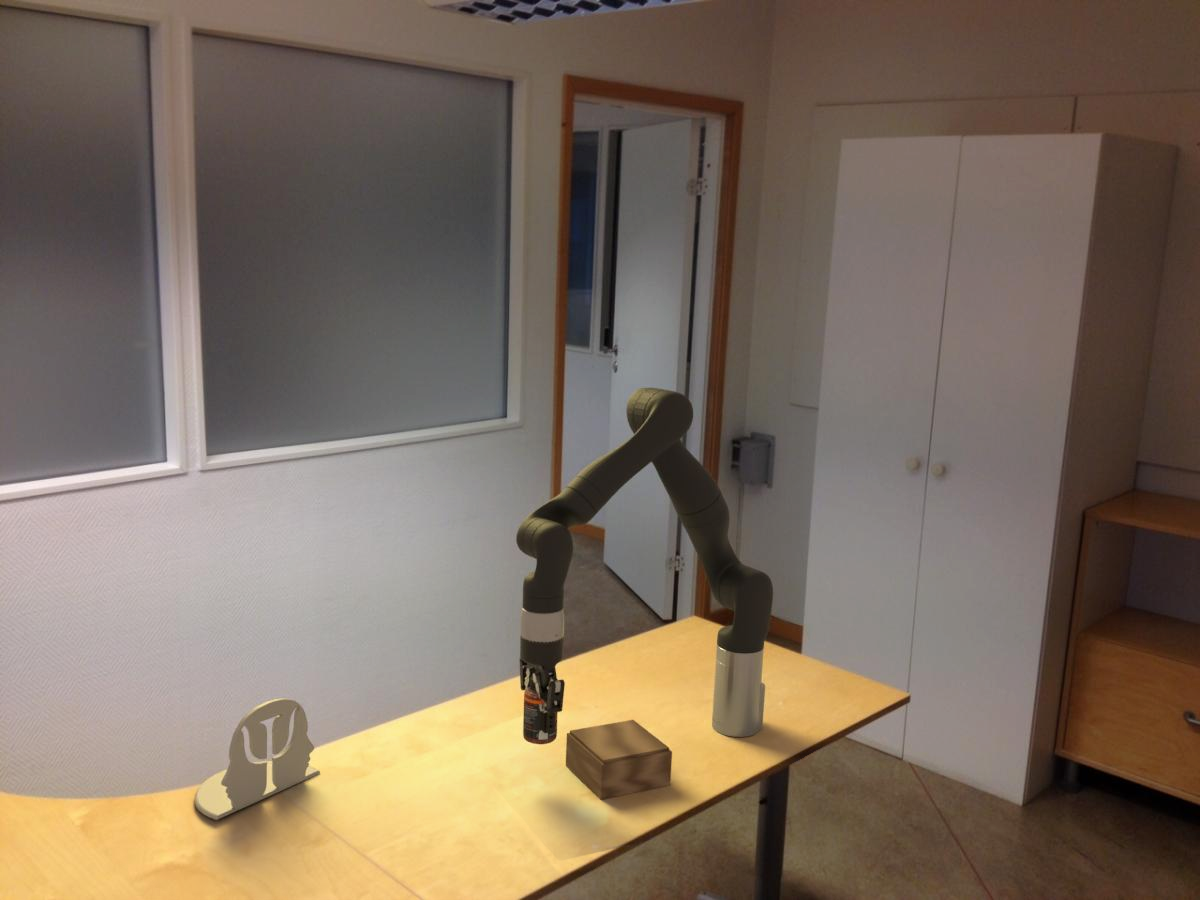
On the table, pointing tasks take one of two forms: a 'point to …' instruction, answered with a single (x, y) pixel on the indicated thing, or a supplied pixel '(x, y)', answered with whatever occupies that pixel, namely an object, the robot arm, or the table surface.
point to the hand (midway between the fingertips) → (540, 724)
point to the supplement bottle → (535, 718)
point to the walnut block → (618, 759)
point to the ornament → (259, 778)
